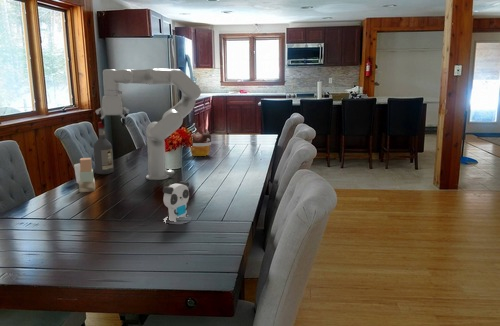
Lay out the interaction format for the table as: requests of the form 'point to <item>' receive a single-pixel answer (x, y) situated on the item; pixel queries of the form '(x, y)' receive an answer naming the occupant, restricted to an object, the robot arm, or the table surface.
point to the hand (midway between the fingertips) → (113, 126)
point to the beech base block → (87, 186)
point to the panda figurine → (176, 200)
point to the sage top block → (86, 176)
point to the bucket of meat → (201, 143)
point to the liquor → (103, 153)
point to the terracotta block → (85, 164)
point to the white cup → (77, 172)
